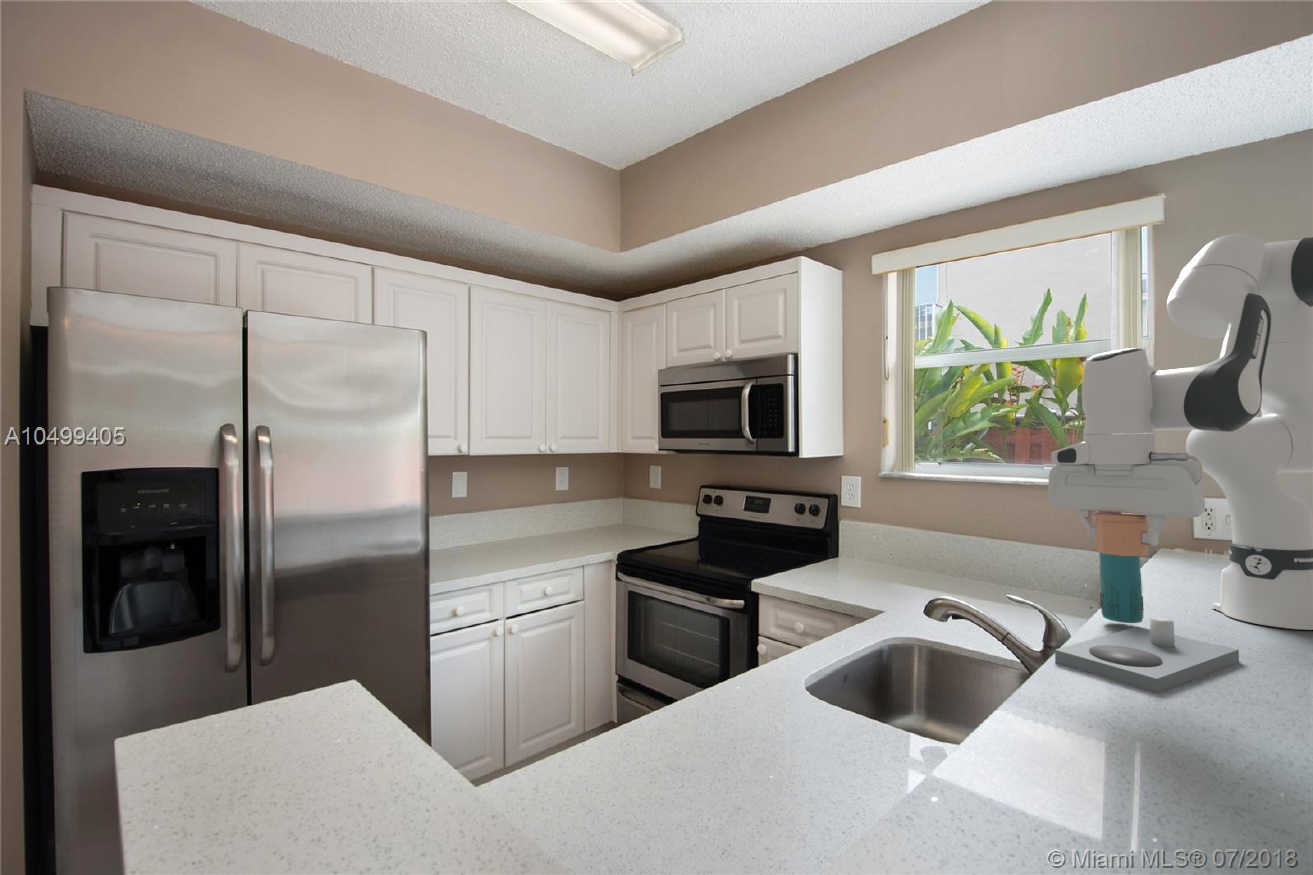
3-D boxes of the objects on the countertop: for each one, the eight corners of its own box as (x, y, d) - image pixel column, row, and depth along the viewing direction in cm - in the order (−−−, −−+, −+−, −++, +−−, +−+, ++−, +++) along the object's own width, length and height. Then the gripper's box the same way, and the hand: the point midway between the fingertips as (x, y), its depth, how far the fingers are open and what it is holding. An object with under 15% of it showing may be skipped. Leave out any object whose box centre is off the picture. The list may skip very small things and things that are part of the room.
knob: (1156, 553, 94) (1154, 512, 94) (1137, 557, 90) (1135, 515, 91) (1108, 548, 99) (1106, 510, 99) (1088, 552, 96) (1087, 512, 96)
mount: (1137, 637, 109) (1136, 604, 109) (1239, 662, 96) (1237, 624, 96) (1055, 662, 98) (1054, 624, 99) (1157, 693, 86) (1155, 650, 86)
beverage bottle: (1152, 632, 112) (1148, 523, 112) (1111, 630, 113) (1107, 523, 113) (1132, 621, 118) (1128, 518, 118) (1093, 620, 120) (1090, 518, 120)
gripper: (1212, 452, 87) (1216, 549, 87) (1063, 452, 106) (1066, 532, 105) (1189, 453, 84) (1193, 553, 84) (1040, 453, 103) (1043, 535, 103)
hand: (1121, 541), depth 95 cm, fingers closed on knob, 6 cm apart
